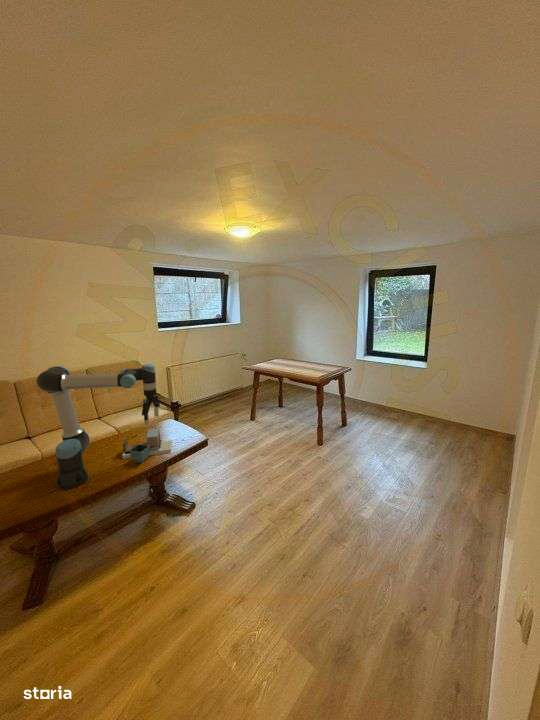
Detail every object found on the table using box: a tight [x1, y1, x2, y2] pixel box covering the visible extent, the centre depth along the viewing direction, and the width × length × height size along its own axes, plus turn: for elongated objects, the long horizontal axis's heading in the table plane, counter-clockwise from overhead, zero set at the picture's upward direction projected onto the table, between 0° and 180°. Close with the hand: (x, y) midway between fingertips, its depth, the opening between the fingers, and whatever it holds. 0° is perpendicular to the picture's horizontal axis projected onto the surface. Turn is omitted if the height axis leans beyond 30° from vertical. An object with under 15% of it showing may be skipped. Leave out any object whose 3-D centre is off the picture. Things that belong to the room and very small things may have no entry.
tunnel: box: [146, 428, 161, 451], centre depth 201 cm, size 7×12×10 cm, turn 16°
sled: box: [122, 438, 162, 453], centre depth 199 cm, size 23×8×6 cm, turn 106°
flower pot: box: [130, 443, 150, 464], centre depth 187 cm, size 9×9×9 cm
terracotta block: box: [149, 435, 159, 447], centre depth 201 cm, size 6×6×6 cm
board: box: [121, 439, 173, 460], centre depth 201 cm, size 30×14×3 cm, turn 106°
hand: (152, 420), depth 188 cm, fingers open, 13 cm apart
